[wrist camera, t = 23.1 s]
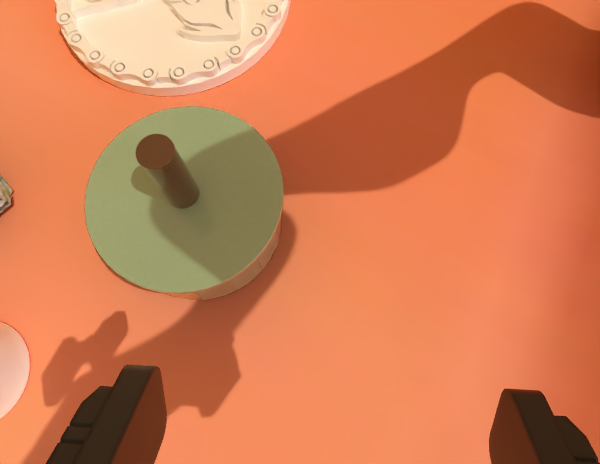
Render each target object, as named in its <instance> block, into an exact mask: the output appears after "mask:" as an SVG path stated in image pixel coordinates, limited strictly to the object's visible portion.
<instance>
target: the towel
mask: <svg viewBox="0 0 600 464" xmlns="http://www.w3.org/2000/svg"><path fill="white" fill-rule="evenodd" d="M12 192H13V190H12V188H11V187H10V186H9V185H8V184H7V182H6V181H5V180H4V179H3V178H2V177H1V176H0V214H1V213H2V212H3V211H4V210H5V209H6V208H7V207H8V206H10V205H11V198H12V196H11V193H12Z"/></svg>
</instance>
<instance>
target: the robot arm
mask: <svg viewBox="0 0 600 464" xmlns="http://www.w3.org/2000/svg"><path fill="white" fill-rule="evenodd" d="M166 420H167V413H166V405H165V398H164V391H163V384H162V377H161V371H160V368H159V367H157V366H141V365H126V366H124V368H123V369H122V371H121V372H120V374H119V376H118V378H117V380H116V382H115V384H114V386H113V387H107V386H100V387H99V388H98V389H97V390H95V391H94V392H93V393H92V394H91V395H90V396H89V397H87V398H86V399H85V400H84V401H83V402H82V403H81V405H80V406H79V408H78V410H77V411H76V413H75V415H74V417H73V418H72V420H71V422H70V426H68V427H67V428H66V430H65V432H64V434H63V435H62V437H61V441H60V443H58V444H57V446H56V447H55V449H54V451H53V452H52V454H51V456H50V457H49V459H48V461H47V463H46V464H154V462H155V460H156V457H157V454H158V451H159V449H160V446H161V443H162V440H163V437H164V433H165V428H166ZM489 451H490V458H491V462H492V464H600V463H598V458H597V456H596V454H595V452H594V450H593V448H592V447H591V445H590V443H589V441H588V439H587V437H586V436H585V435H584V434H583V433H582V432H581V431H580V430H579V429H578V428H577V427H576V426H575V425H574V424H573V423H572V422H571V421H570V420H569V419H568V418H567V417H566V416H554V415H553V413H552V411H551V409H550V407H549V405H548V403H547V401H546V398H545V397H544V395H543V394H542V393H541V392H540V391H536V390H520V389H504V390H503V392H502V394H501V397H500V400H499V404H498V407H497V411H496V415H495V418H494V422H493V425H492V429H491V432H490V438H489Z"/></svg>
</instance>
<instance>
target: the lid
mask: <svg viewBox="0 0 600 464" xmlns="http://www.w3.org/2000/svg"><path fill="white" fill-rule="evenodd" d="M283 199H284V189H283V179H282V174H281V170H280V166H279V164H278V161H277V159H276V156H275V154H274V153H273V151H272V149H271V147H270V146H269V144H268V143H267V142H266V140H265V139H264V138H263V137H262V136H261V135H260V134H259V133H258V132H257V131H256V130H255V129H254V128H253V127H252V126H250V125H249V124H248V123H246V122H245V121H243V120H241V119H240V118H238V117H236V116H234V115H231V114H229V113H226V112H224V111H220V110H217V109H213V108H206V107H193V106H187V107H177V108H171V109H167V110H163V111H160V112H157V113H154V114H151V115H149V116H147V117H144V118H142V119H140V120H138V121H137V122H135V123H134V124H132V125H130V126H129V127H127V128H126V129H125V130H124V131H122V132H121V133H120V134H119V135H118V136H117V137H116V138H115V139H114V140H113V141H112V142H111V143H110V144H109V145H108V146H107V147H106V149H105V150H104V151H103V153H102V154H101V156H100V157H99V159H98V160H97V162H96V164H95V166H94V168H93V170H92V173H91V175H90V178H89V181H88V185H87V190H86V195H85V218H86V225H87V229H88V232H89V235H90V238H91V240H92V243H93V245H94V247H95V248H96V250H97V252H98V253H99V255H100V256H101V258H102V259H103V260H104V261H105V262H106V264H107V265H108V266H109V267H110V268H112V269H113V270H114V271H115V272H116V273H117V274H119V275H120V276H122V277H123V278H125V279H126V280H128V281H129V282H131V283H134V284H136V285H138V286H140V287H142V288H145V289H149V290H152V291H156V292H162V293H171V294H184V293H194V292H199V291H203V290H207V289H210V288H213V287H216V286H219V285H221V284H223V283H225V282H227V281H229V280H231V279H233V278H234V277H236V276H237V275H239V274H240V273H242V272H243V271H245V270H246V269H247V268H248V267H249V266H250V265H251V264H253V263H254V262H255V261H256V260H257V258H258V257H259V256H260V255H261V254H262V253H263V252H264V250H265V249H266V247H267V246H268V244H269V243H270V241H271V239H272V237H273V235H274V233H275V231H276V229H277V227H278V224H279V221H280V218H281V213H282V208H283Z"/></svg>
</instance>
